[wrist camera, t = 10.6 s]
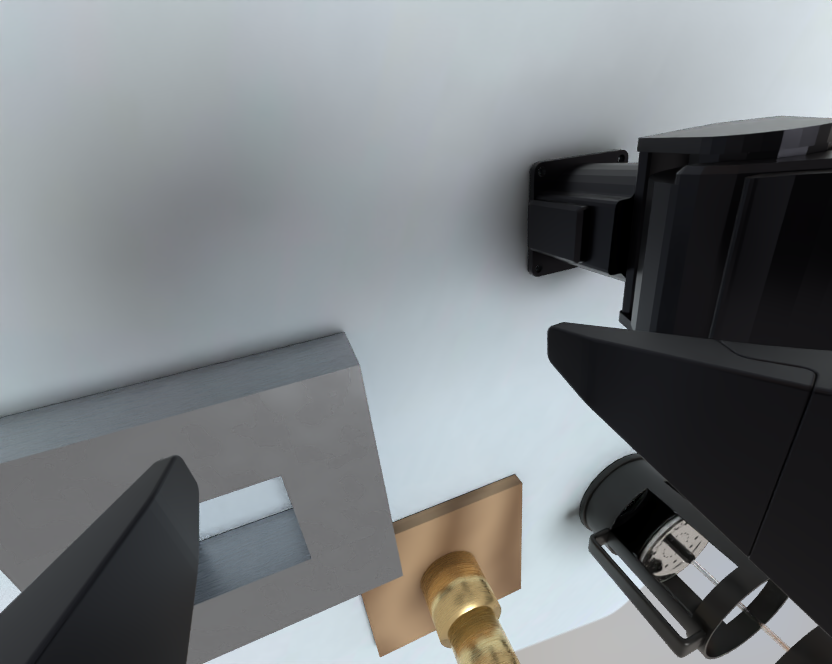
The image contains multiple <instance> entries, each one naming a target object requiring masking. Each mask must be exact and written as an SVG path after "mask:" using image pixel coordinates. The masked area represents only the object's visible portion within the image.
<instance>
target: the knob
mask: <svg viewBox="0 0 832 664" xmlns="http://www.w3.org/2000/svg"><path fill="white" fill-rule="evenodd" d="M420 585H421V589H422V592H423V595H424V598H425V600H426V603H427V606H428V609H429V611H430V614H431V617H432V620H433V623H434V625H435V628H436V631H437V634H438V636H439V639H440V642H441V644H442V645H443V646H445V647H447V648H452V650H453V652H454V655H455V658H456V660H457V663H458V664H520V662H519V660H518V658H517V656H516V655H515V652H514V650H513V648H512V646H511V644H510V642H509V640H508V638H507V636H506V634H505V632H504V631H503V629H502V627H501V625H500V623H499V621H498V619H499V617H500V614H501V607H500V604H499V603H498V601H497V599H496V597H495V595H494V593H493V591H492V589H491V587H490V585H489V583H488V582H487V580H486V578H485V576H484V574H483V572H482V570H481V568H480V566H479V564H478V563H477V561H476V559H475V557H474V555H472V554H471V553H469V552H466V551H457V552H453V553H449V554H447V555H445V556H443V557H441V558H439V559H438V560H436V561H435V562H434V563H432V564H431V565H430V566H429V567H428V568H427V570H426V571H425V572H424V574H423V576H422V578H421V583H420Z"/></svg>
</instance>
